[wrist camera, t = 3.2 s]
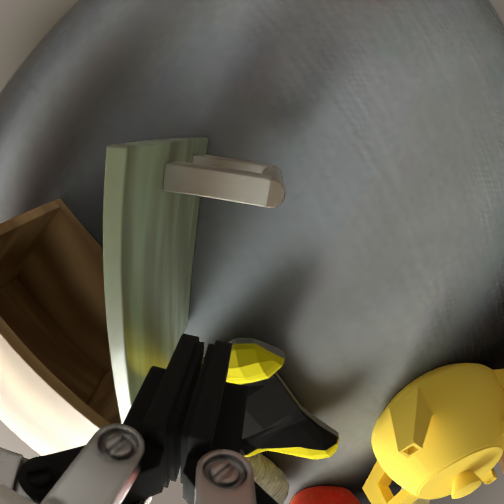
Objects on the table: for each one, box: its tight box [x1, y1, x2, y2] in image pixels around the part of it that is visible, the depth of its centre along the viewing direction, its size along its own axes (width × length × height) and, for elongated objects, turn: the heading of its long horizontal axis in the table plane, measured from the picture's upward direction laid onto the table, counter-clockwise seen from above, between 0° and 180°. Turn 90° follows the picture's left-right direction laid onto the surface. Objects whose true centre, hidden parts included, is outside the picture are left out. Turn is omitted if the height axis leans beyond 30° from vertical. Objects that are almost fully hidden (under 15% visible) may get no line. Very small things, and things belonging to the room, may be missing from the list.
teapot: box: [362, 363, 504, 504], centre depth 22 cm, size 17×17×12 cm
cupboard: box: [0, 198, 121, 456], centre depth 20 cm, size 11×15×13 cm
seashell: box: [245, 453, 289, 504], centre depth 30 cm, size 6×14×8 cm, turn 25°
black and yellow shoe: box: [202, 338, 339, 460], centre depth 25 cm, size 15×6×10 cm
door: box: [103, 137, 285, 424], centre depth 17 cm, size 6×15×12 cm, turn 171°
